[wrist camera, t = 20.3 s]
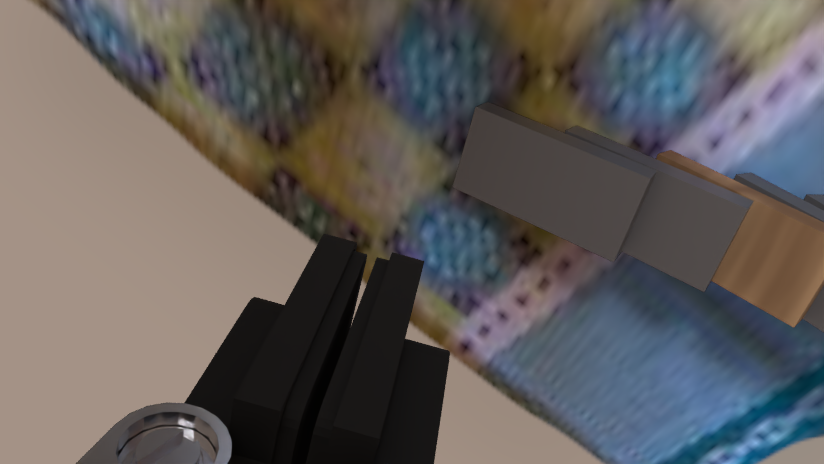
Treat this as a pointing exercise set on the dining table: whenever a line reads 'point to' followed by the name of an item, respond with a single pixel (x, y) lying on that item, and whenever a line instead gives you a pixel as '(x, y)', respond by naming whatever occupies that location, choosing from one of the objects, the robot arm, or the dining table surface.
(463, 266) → the dining table surface
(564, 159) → the domino
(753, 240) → the domino walnut
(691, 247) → the domino
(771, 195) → the domino
